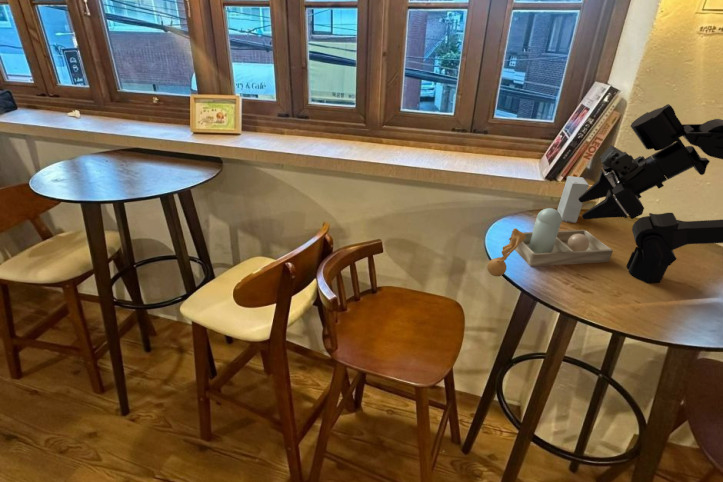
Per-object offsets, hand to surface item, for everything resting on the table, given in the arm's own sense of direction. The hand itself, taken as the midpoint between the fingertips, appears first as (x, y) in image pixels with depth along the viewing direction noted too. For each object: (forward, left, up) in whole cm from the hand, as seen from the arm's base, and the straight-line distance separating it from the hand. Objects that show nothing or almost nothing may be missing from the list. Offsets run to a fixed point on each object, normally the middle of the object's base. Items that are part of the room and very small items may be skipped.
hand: (581, 208), depth 88 cm
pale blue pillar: (+3, +5, -13) cm, 14 cm away
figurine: (-4, +18, -14) cm, 23 cm away
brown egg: (+3, -5, -13) cm, 14 cm away
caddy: (+3, 0, -14) cm, 14 cm away
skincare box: (+21, -14, -14) cm, 28 cm away
